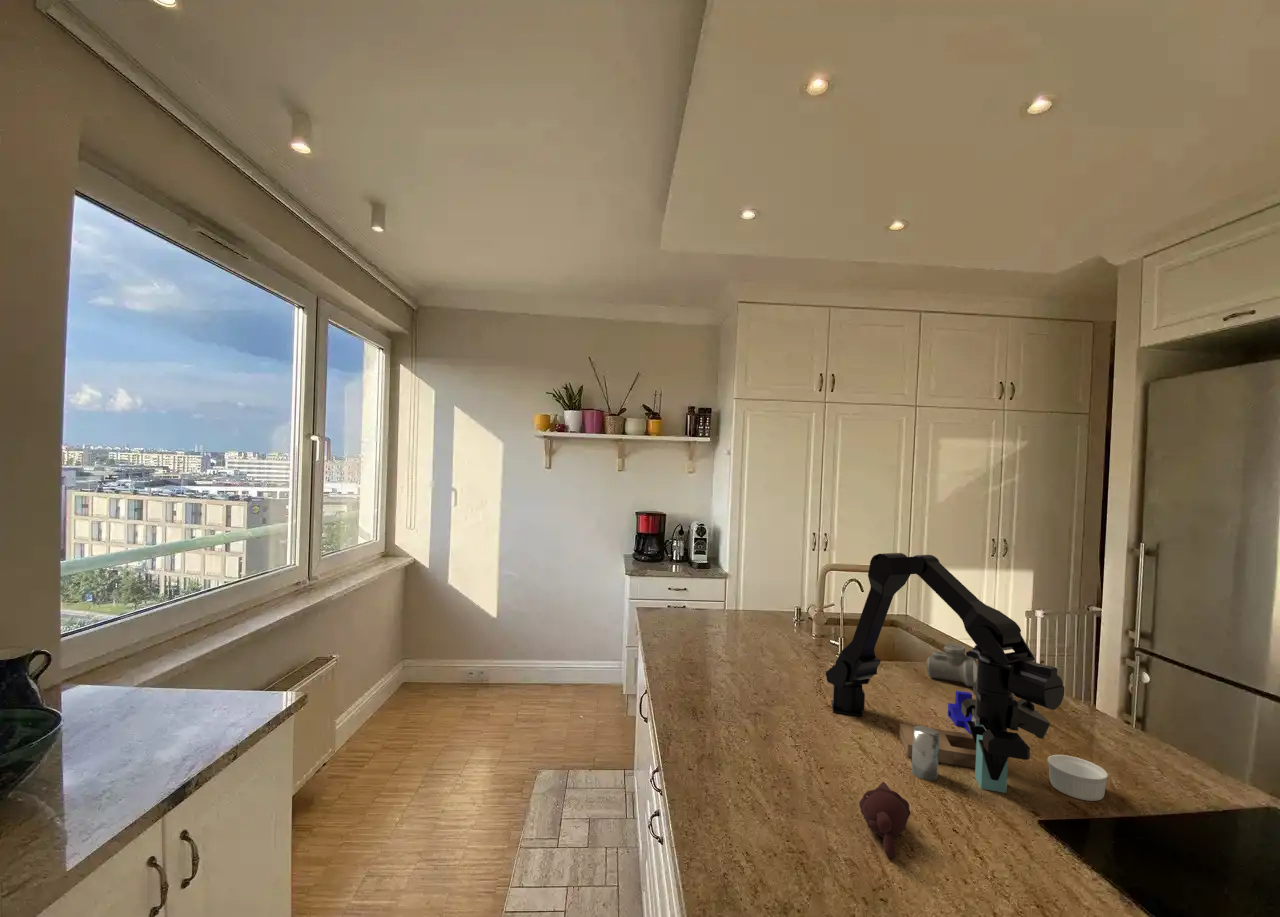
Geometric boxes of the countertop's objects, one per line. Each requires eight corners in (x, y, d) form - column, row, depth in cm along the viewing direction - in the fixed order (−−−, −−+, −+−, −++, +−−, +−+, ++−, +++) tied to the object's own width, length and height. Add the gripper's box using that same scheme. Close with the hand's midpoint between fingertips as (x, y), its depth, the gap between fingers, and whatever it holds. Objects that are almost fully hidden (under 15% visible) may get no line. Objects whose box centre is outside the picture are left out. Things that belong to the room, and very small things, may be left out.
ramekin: (1035, 781, 111) (1036, 758, 111) (1065, 773, 114) (1066, 750, 114) (1087, 808, 102) (1088, 782, 102) (1118, 798, 106) (1119, 774, 106)
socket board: (907, 757, 118) (907, 744, 118) (899, 735, 127) (899, 723, 127) (998, 771, 113) (998, 758, 113) (983, 747, 123) (983, 735, 123)
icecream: (855, 763, 101) (854, 819, 87) (902, 761, 99) (908, 819, 85) (865, 803, 101) (864, 865, 87) (911, 803, 99) (919, 867, 85)
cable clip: (947, 715, 139) (948, 690, 139) (968, 718, 138) (969, 692, 138) (966, 739, 127) (967, 711, 127) (989, 741, 126) (990, 713, 126)
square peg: (981, 788, 107) (983, 744, 107) (975, 777, 111) (976, 734, 111) (1006, 792, 106) (1008, 747, 106) (999, 781, 110) (1001, 738, 110)
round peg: (913, 777, 110) (915, 734, 110) (909, 766, 114) (911, 724, 114) (939, 782, 108) (941, 738, 109) (934, 770, 113) (936, 728, 113)
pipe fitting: (980, 681, 161) (976, 643, 161) (976, 692, 155) (972, 653, 155) (932, 675, 169) (928, 639, 169) (926, 685, 162) (922, 648, 162)
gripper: (1067, 715, 97) (1063, 811, 97) (1026, 676, 115) (1022, 757, 115) (991, 704, 100) (987, 798, 100) (962, 668, 118) (959, 747, 118)
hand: (990, 773), depth 108 cm, fingers closed on square peg, 4 cm apart
